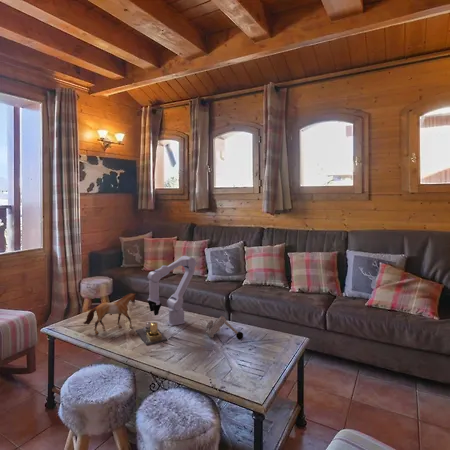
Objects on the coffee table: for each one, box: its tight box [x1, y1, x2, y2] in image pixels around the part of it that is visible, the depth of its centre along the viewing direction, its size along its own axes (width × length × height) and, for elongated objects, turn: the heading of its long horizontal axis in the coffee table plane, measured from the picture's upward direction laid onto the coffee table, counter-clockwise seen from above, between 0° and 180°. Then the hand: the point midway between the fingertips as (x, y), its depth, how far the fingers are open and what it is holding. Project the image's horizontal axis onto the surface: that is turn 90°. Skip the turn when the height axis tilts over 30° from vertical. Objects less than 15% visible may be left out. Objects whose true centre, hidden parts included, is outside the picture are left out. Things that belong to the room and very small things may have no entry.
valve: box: [205, 315, 244, 340], centre depth 188 cm, size 10×20×15 cm
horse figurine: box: [82, 292, 137, 334], centre depth 195 cm, size 31×8×21 cm, turn 117°
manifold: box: [135, 321, 168, 346], centre depth 188 cm, size 12×21×6 cm, turn 31°
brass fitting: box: [150, 321, 159, 337], centre depth 184 cm, size 4×4×8 cm
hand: (154, 312), depth 198 cm, fingers open, 7 cm apart
